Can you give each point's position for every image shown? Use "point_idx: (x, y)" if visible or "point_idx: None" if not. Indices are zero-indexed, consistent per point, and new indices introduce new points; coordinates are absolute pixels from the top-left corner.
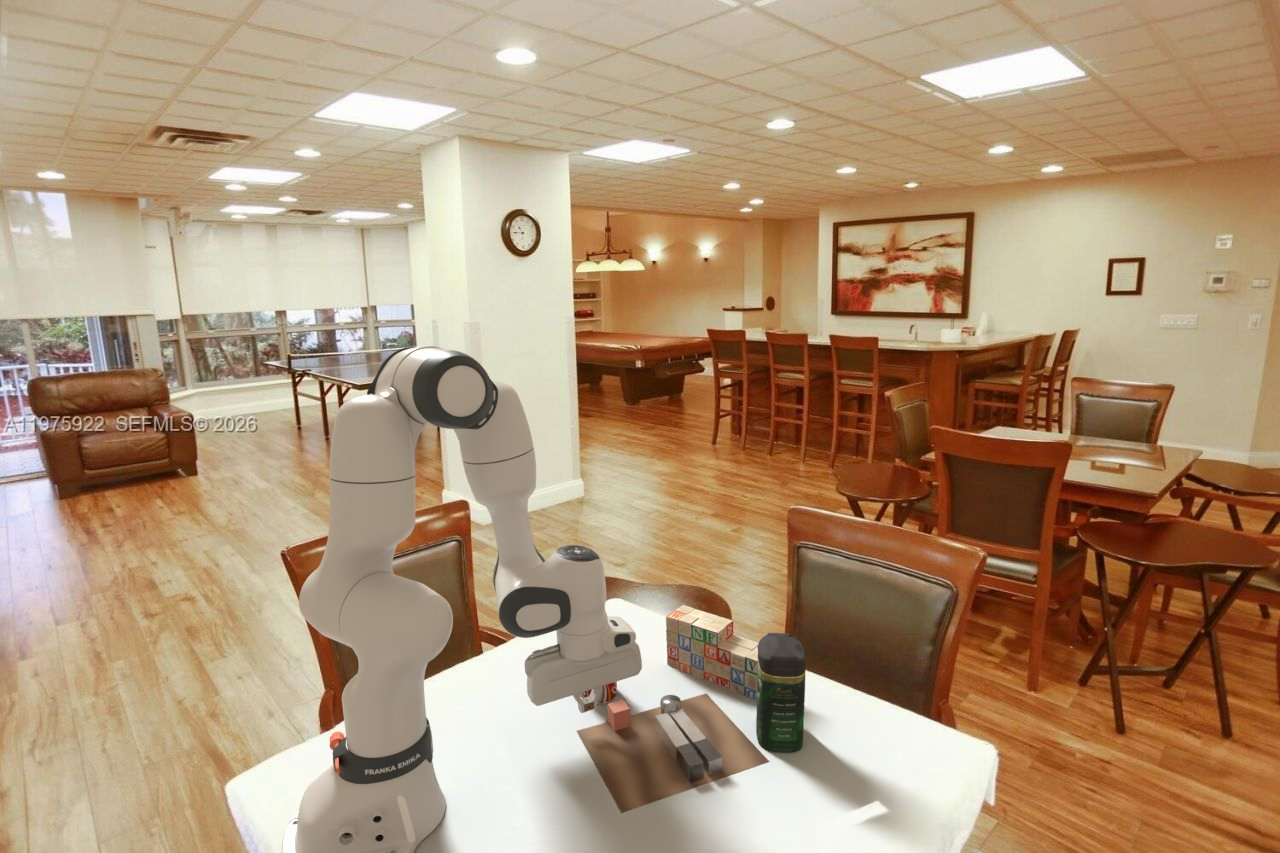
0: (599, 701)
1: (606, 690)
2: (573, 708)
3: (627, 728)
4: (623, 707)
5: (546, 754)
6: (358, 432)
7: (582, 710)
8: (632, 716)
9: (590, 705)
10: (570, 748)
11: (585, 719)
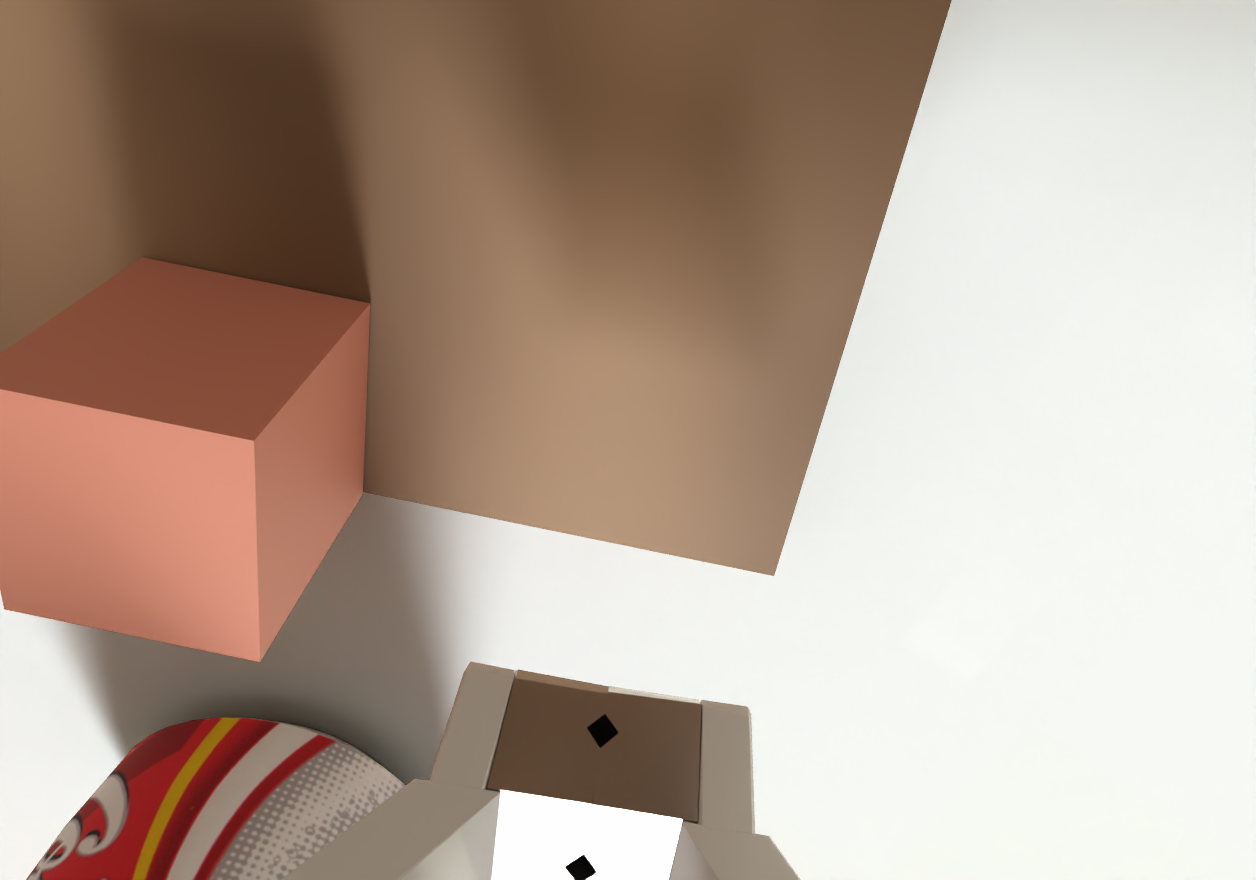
0: (317, 778)
1: (177, 854)
2: None
3: (191, 248)
4: (53, 464)
5: (1230, 492)
6: None
7: (735, 738)
8: None
9: (574, 749)
10: (947, 417)
11: None
